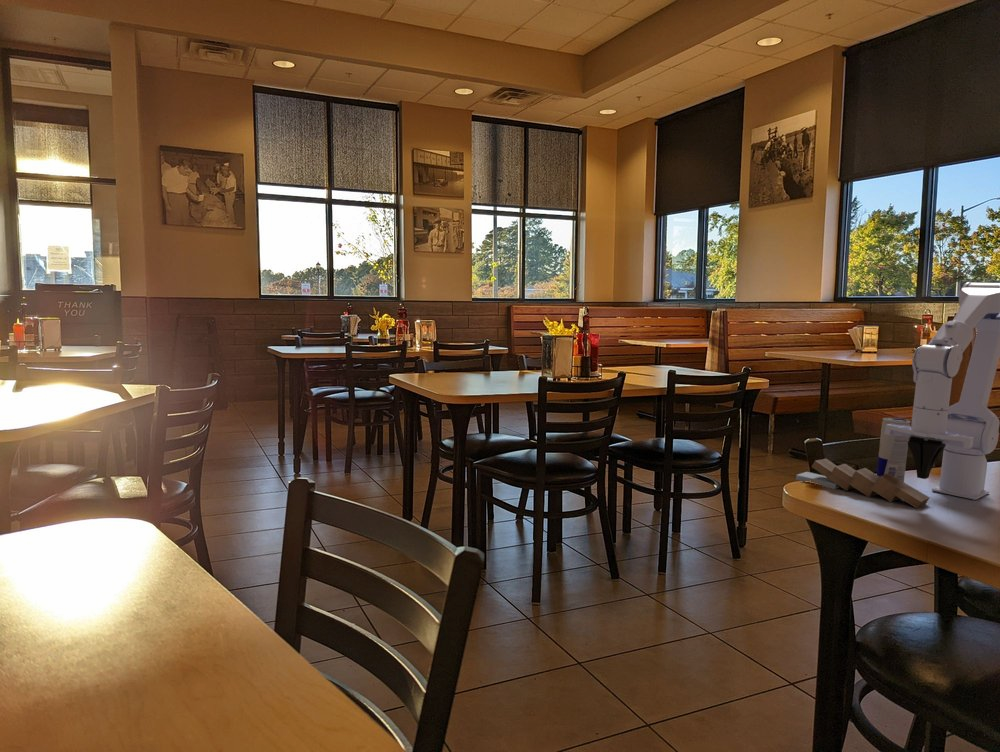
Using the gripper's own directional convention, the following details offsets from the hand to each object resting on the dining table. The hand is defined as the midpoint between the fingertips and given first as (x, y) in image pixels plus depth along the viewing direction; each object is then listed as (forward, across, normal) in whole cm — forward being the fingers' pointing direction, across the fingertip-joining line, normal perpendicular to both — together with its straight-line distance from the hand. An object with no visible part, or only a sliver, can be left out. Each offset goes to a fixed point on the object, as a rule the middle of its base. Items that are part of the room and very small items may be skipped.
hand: (922, 477), depth 133 cm
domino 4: (+5, -4, 0) cm, 6 cm away
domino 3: (+5, -8, 0) cm, 9 cm away
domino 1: (+5, -15, 0) cm, 16 cm away
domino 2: (+5, -12, 0) cm, 13 cm away
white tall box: (+6, -8, +8) cm, 13 cm away
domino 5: (+5, +1, 0) cm, 5 cm away
